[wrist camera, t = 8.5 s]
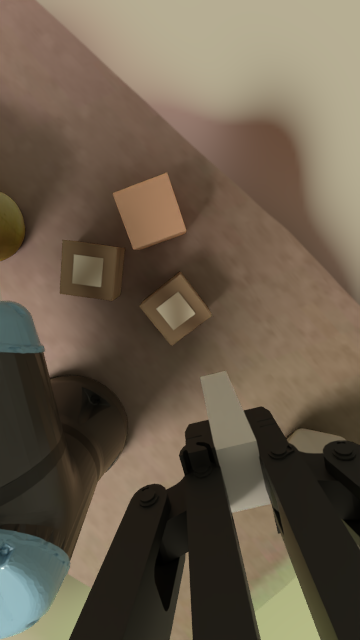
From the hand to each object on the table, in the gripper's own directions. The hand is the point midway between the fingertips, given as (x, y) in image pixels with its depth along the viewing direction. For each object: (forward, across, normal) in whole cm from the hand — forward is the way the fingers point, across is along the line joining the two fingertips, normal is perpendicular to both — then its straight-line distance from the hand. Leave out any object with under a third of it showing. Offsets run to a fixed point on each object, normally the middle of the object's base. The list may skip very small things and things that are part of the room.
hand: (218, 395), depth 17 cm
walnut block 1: (+24, -10, +9) cm, 27 cm away
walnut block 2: (+24, -2, +2) cm, 24 cm away
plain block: (+24, -2, +13) cm, 27 cm away
